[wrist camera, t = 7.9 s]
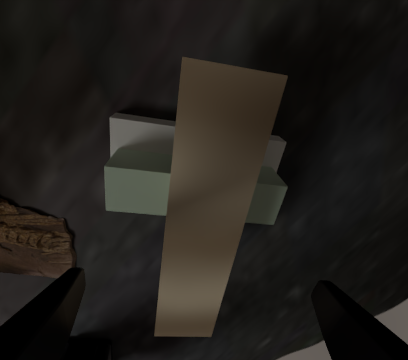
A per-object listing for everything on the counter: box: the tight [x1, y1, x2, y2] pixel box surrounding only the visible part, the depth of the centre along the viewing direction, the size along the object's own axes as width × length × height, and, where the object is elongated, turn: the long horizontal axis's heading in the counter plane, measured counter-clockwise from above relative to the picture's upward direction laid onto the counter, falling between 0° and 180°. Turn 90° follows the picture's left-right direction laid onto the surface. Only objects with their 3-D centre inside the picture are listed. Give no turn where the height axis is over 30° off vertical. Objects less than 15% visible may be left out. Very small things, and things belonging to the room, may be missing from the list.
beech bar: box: [154, 57, 288, 337], centre depth 12 cm, size 15×4×4 cm, turn 171°
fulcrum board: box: [104, 113, 288, 225], centre depth 16 cm, size 7×12×4 cm, turn 81°
